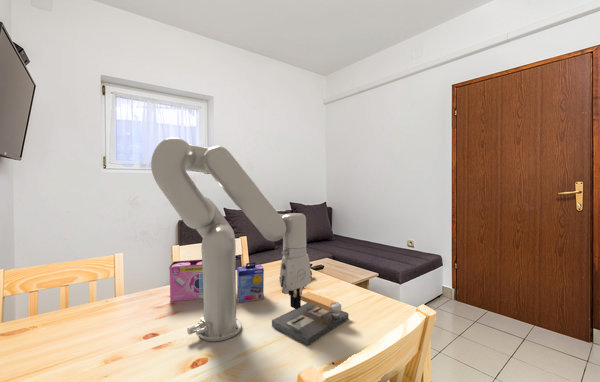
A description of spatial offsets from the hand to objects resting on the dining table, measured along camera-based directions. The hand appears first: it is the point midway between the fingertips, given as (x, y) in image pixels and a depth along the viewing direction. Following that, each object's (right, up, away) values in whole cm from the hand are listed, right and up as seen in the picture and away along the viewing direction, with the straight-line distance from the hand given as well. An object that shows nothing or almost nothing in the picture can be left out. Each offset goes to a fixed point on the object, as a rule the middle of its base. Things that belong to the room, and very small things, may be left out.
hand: (295, 307), depth 89 cm
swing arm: (+8, 0, +2) cm, 9 cm away
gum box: (-38, -4, +21) cm, 43 cm away
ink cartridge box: (-18, -4, +17) cm, 25 cm away
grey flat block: (+5, -4, -2) cm, 7 cm away
